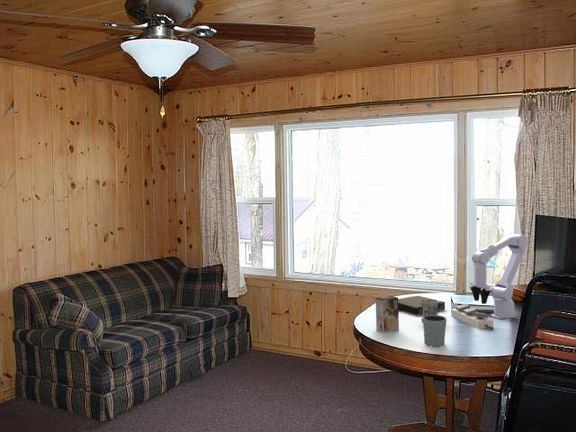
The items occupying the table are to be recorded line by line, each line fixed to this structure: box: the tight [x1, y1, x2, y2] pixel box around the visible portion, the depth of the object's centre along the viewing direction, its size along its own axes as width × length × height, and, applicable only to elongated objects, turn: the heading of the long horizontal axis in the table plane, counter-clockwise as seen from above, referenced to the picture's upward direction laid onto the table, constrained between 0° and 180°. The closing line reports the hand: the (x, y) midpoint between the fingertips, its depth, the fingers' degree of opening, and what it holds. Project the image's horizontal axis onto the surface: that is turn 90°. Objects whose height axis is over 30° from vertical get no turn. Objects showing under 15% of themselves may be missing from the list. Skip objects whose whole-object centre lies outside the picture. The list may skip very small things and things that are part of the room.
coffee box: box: [375, 295, 400, 333], centre depth 275 cm, size 9×6×16 cm
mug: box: [420, 298, 440, 322], centre depth 290 cm, size 12×9×11 cm
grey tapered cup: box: [422, 314, 448, 348], centre depth 251 cm, size 10×10×12 cm
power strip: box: [450, 308, 494, 331], centre depth 285 cm, size 8×32×4 cm, turn 13°
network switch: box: [398, 295, 446, 316], centre depth 316 cm, size 23×24×5 cm
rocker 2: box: [463, 306, 480, 315], centre depth 287 cm, size 6×4×2 cm, turn 102°
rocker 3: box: [473, 311, 489, 318], centre depth 280 cm, size 6×4×2 cm, turn 103°
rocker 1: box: [455, 303, 471, 311], centre depth 295 cm, size 6×4×2 cm, turn 102°
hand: (480, 302), depth 288 cm, fingers open, 6 cm apart
